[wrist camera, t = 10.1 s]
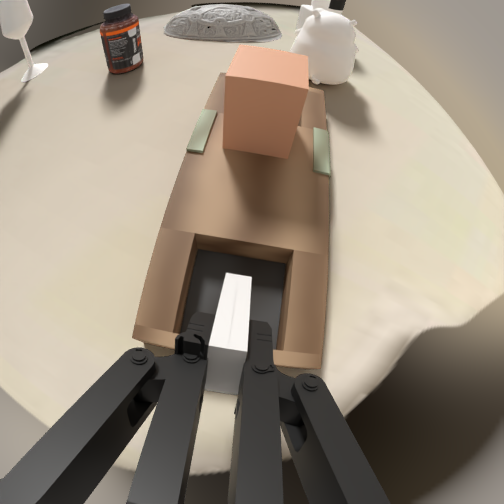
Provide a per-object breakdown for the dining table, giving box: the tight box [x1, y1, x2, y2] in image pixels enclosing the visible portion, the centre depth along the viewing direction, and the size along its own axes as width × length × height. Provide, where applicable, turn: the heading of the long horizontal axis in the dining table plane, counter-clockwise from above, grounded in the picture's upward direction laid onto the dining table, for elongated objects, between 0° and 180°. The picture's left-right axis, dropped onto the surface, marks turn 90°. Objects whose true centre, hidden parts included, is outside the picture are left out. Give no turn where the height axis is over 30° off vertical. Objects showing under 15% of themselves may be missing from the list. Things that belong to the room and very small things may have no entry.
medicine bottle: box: [295, 0, 346, 31], centre depth 39 cm, size 7×7×12 cm
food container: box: [163, 4, 282, 42], centre depth 41 cm, size 16×25×7 cm, turn 89°
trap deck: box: [132, 73, 331, 369], centre depth 25 cm, size 13×31×3 cm, turn 172°
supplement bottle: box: [100, 4, 143, 74], centre depth 30 cm, size 6×6×11 cm
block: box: [222, 45, 309, 159], centre depth 22 cm, size 6×6×8 cm
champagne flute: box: [0, 0, 48, 82], centre depth 24 cm, size 7×7×24 cm
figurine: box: [290, 8, 359, 84], centre depth 31 cm, size 10×10×12 cm
